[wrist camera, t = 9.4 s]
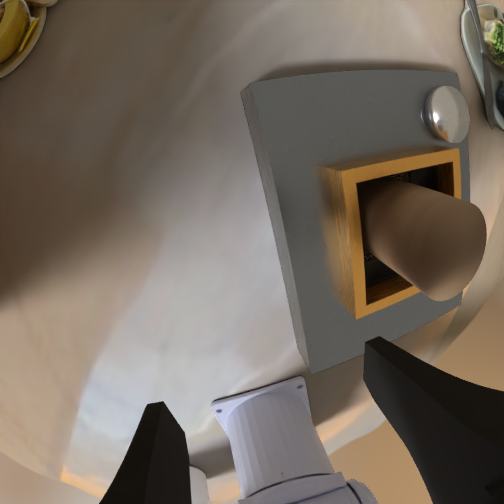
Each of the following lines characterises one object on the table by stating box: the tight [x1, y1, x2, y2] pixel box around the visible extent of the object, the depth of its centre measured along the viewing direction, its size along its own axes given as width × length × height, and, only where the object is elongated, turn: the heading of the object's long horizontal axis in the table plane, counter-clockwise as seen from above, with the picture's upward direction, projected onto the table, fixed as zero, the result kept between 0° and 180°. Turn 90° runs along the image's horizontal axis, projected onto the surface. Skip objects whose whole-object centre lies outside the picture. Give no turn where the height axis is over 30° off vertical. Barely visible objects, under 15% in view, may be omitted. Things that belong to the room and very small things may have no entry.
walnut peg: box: [356, 176, 487, 301], centre depth 16 cm, size 5×5×8 cm
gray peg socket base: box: [240, 70, 470, 374], centre depth 17 cm, size 18×14×4 cm
